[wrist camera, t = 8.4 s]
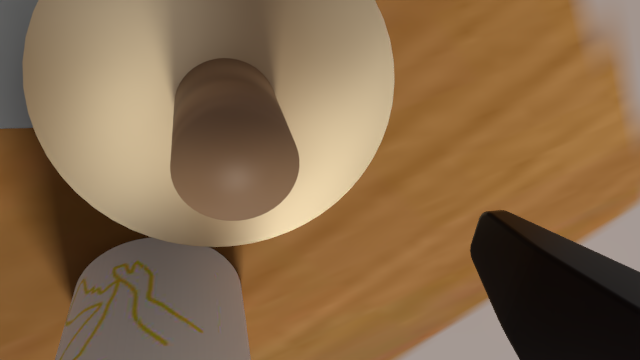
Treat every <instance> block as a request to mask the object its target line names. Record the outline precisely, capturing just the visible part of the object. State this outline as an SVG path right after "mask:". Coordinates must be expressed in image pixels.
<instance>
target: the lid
mask: <svg viewBox="0 0 640 360" xmlns="http://www.w3.org/2000/svg"><path fill="white" fill-rule="evenodd" d="M22 64H23V89H24V94H25V99H26V104H27V110H28V114H29V116H30V119H31V122H32V125H33V128H34V131H35V134H36V136H37V138H38V140H39V142H40V144H41V146H42V148H43V150H44V152H45V153H46V155H47V157H48V158H49V160H50V161H51V163H52V164H53V166H54V167H55V168H56V170H57V171H58V173H59V174H60V176H61V177H62V178H63V179H64V180H65V181H66V182H67V183H68V184H69V185H70V187H71V188H72V189H73V190H74V191H75V192H76V193H77V194H78V195H80V196H81V197H82V198H83V199H84V200H85V201H87V202H88V203H89V204H90V205H91V206H92V207H94V208H95V209H97V210H98V211H100V212H101V213H103V214H104V215H106V216H107V217H109V218H110V219H112V220H113V221H115V222H117V223H119V224H121V225H123V226H125V227H127V228H129V229H131V230H133V231H136V232H139V233H141V234H144V235H146V236H149V237H152V238H156V239H159V240H163V241H167V242H170V243H176V244H183V245H189V246H202V247H224V246H236V245H243V244H250V243H254V242H258V241H262V240H266V239H270V238H273V237H276V236H279V235H281V234H284V233H287V232H289V231H291V230H293V229H296V228H298V227H300V226H302V225H304V224H306V223H307V222H309V221H311V220H312V219H314V218H316V217H317V216H319V215H320V214H322V213H323V212H325V211H326V210H327V209H328V208H330V207H331V206H332V205H334V204H335V203H336V202H337V201H338V200H339V199H340V198H341V197H343V196H344V195H345V194H346V193H347V192H348V191H349V190H350V189H351V188H352V186H353V185H354V184H355V183H356V182H357V180H358V179H359V178H360V177H361V176H362V174H363V173H364V171H365V170H366V168H367V167H368V165H369V164H370V162H371V161H372V159H373V157H374V155H375V153H376V151H377V149H378V147H379V145H380V143H381V141H382V138H383V136H384V133H385V130H386V127H387V124H388V121H389V117H390V112H391V108H392V103H393V93H394V60H393V55H392V49H391V43H390V38H389V35H388V32H387V29H386V25H385V22H384V19H383V17H382V15H381V12H380V10H379V8H378V6H377V4H376V2H375V0H38V2H37V5H36V7H35V9H34V11H33V14H32V17H31V20H30V24H29V27H28V31H27V34H26V38H25V46H24V54H23V62H22Z"/></svg>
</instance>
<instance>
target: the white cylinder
mask: <svg viewBox="0 0 640 360" xmlns="http://www.w3.org/2000/svg"><path fill="white" fill-rule="evenodd" d="M55 360H251V358H250V350H249V343H248V335H247V327H246V320H245V312H244V305H243V297H242V289H241V283H240V279H239V277H238V274H237V272H236V270H235V269H234V267H233V266H232V265H231V263H230V262H229V261H228V260H227V259H226V258H225V257H224V256H222V255H221V254H220V253H218V252H217V251H215V250H214V249H212V248H210V247H202V246H189V245H183V244H176V243H170V242H167V241H163V240H159V239H156V238H144V239H138V240H134V241H130V242H127V243H124V244H121V245H119V246H116V247H114V248H112V249H110V250H108V251H106V252H105V253H103V254H102V255H100V256H99V257H97V258H96V259H95V260H94V261H92V262H91V263H90V264H89V265H88V266H87V268H86V269H85V270H84V271H83V273H82V274H81V276H80V278H79V279H78V282H77V284H76V287H75V291H74V294H73V298H72V301H71V305H70V308H69V312H68V316H67V319H66V323H65V326H64V330H63V333H62V337H61V340H60V344H59V348H58V351H57V355H56V358H55Z"/></svg>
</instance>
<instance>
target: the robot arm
mask: <svg viewBox="0 0 640 360" xmlns="http://www.w3.org/2000/svg"><path fill="white" fill-rule="evenodd" d="M470 252H471V257H472V260H473V263H474V265H475V267H476V269H477V272H478V274H479V276H480V279H481V281H482V283H483V286H484V288H485V290H486V292H487V295H488V297H489V299H490V302H491V304H492V306H493V308H494V310H495V313H496V315H497V317H498V320H499V322H500V324H501V326H502V328H503V330H504V332H505V334H506V336H507V338H508V339H509V341H510V343H511V345H512V346H513V348H514V350H515V352H516V354H517V355H518V357H519V359H520V360H640V272H638V271H636V270H634V269H632V268H630V267H627V266H625V265H623V264H621V263H618V262H616V261H614V260H612V259H610V258H608V257H606V256H603V255H601V254H599V253H597V252H594V251H593V250H590V249H588V248H586V247H584V246H582V245H579V244H577V243H575V242H573V241H571V240H569V239H566V238H564V237H562V236H560V235H558V234H556V233H553V232H551V231H549V230H547V229H545V228H542V227H540V226H538V225H536V224H534V223H532V222H529V221H527V220H525V219H523V218H521V217H518V216H516V215H514V214H512V213H510V212H508V211H504V210H497V211H486V212H484V213H483V214H482V215H481V216H480V218H479V221H478V224H477V227H476V230H475V233H474V237H473V240H472V243H471V249H470Z"/></svg>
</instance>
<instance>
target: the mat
mask: <svg viewBox="0 0 640 360" xmlns="http://www.w3.org/2000/svg"><path fill="white" fill-rule="evenodd" d="M37 2H38V0H0V129H3V128H33V125H32V122H31V119H30V116H29V114H28V110H27V104H26V99H25V94H24V89H23V64H22V62H23V54H24V46H25V38H26V34H27V31H28V27H29V24H30V20H31V17H32V14H33V11H34V9H35V7H36V5H37Z"/></svg>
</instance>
